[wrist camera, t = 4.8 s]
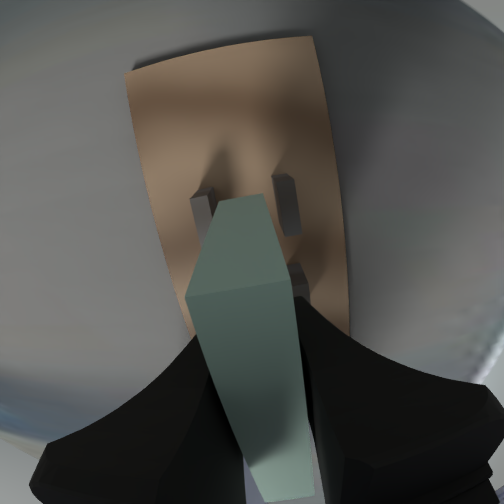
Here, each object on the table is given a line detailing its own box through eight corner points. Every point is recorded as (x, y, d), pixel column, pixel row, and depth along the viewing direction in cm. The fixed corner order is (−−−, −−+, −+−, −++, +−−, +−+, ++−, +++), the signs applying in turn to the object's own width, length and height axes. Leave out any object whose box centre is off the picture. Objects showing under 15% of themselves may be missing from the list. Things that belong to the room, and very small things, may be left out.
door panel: (290, 363, 14) (314, 495, 7) (257, 368, 14) (264, 502, 7) (262, 192, 11) (290, 279, 4) (218, 201, 11) (184, 297, 5)
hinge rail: (346, 370, 21) (359, 402, 18) (215, 393, 22) (211, 426, 18) (309, 40, 14) (323, 18, 10) (129, 76, 14) (104, 63, 11)
